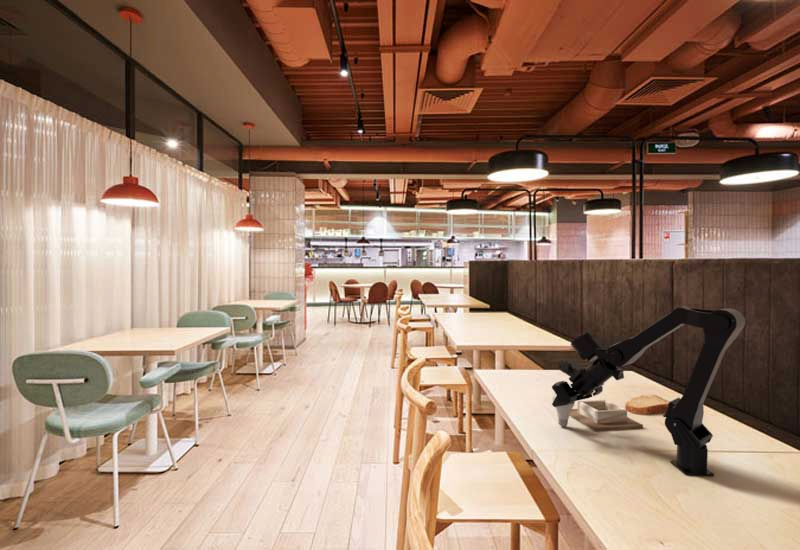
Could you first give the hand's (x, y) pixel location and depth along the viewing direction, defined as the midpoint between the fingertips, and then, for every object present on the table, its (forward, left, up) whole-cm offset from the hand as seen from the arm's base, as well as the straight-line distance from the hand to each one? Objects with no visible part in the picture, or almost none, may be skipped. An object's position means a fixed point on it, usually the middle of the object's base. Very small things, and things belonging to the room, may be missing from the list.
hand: (559, 403), depth 129 cm
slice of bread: (+19, -37, -7) cm, 43 cm away
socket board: (+6, -15, -7) cm, 17 cm away
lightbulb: (-1, -1, -7) cm, 7 cm away
